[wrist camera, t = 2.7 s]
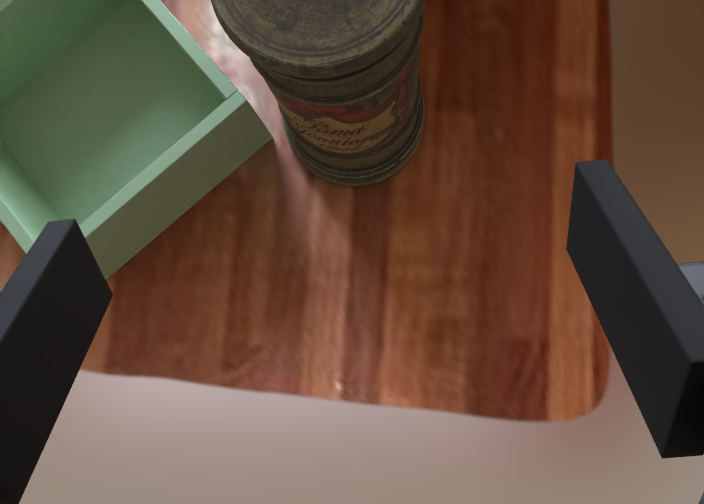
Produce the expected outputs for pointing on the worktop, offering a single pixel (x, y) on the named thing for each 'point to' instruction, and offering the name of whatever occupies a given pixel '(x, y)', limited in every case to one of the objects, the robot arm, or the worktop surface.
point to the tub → (111, 122)
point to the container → (338, 79)
